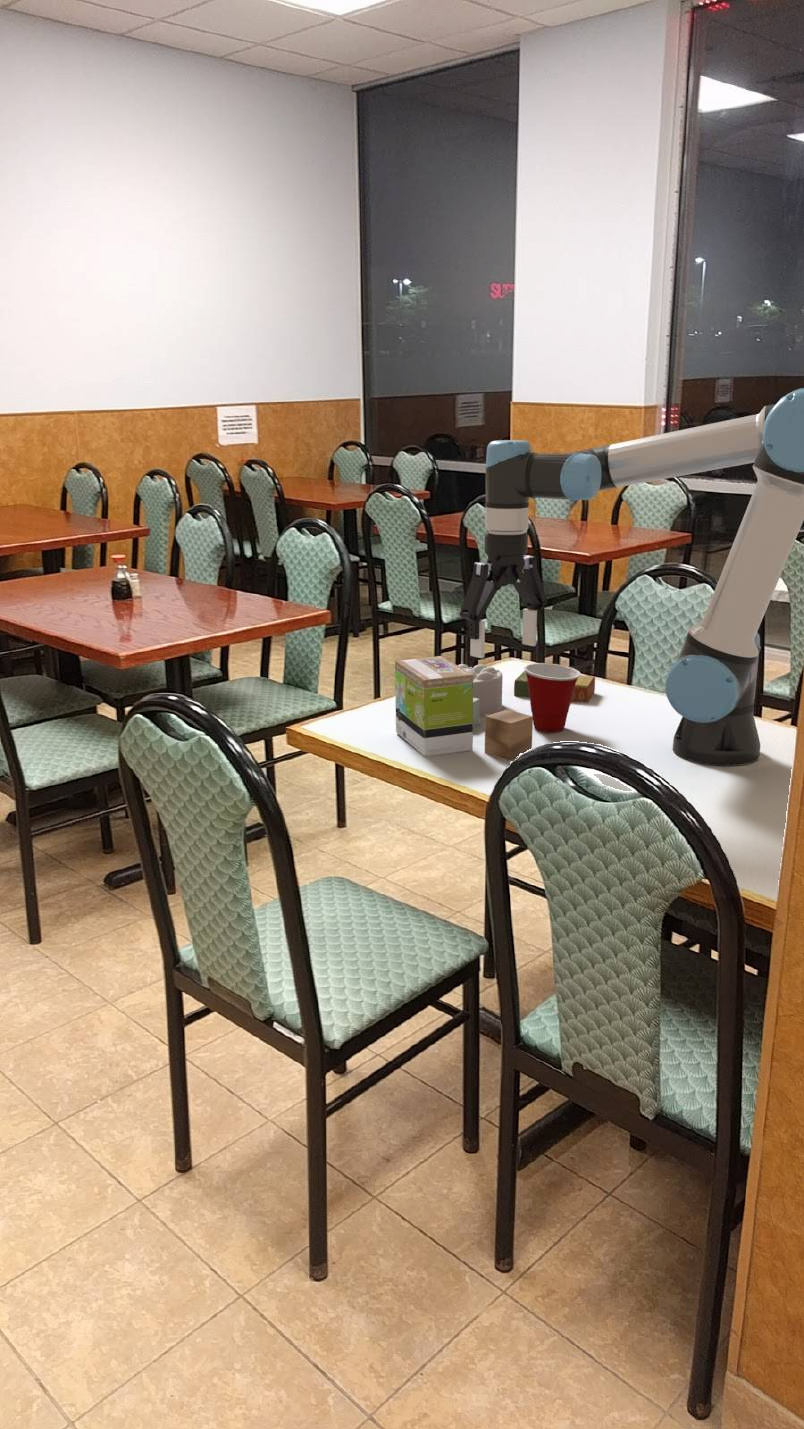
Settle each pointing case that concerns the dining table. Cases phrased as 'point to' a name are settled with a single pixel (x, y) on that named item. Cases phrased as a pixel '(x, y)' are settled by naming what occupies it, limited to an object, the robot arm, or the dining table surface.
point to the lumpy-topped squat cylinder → (486, 687)
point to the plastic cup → (550, 694)
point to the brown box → (508, 734)
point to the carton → (580, 693)
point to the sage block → (476, 710)
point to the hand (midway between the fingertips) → (503, 650)
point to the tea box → (434, 705)
